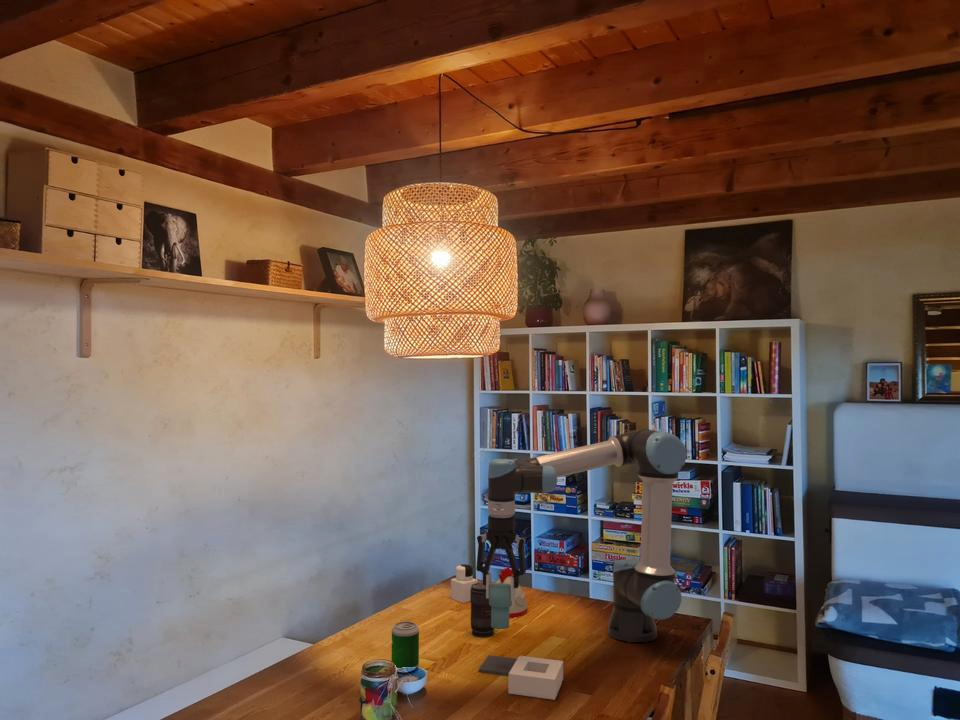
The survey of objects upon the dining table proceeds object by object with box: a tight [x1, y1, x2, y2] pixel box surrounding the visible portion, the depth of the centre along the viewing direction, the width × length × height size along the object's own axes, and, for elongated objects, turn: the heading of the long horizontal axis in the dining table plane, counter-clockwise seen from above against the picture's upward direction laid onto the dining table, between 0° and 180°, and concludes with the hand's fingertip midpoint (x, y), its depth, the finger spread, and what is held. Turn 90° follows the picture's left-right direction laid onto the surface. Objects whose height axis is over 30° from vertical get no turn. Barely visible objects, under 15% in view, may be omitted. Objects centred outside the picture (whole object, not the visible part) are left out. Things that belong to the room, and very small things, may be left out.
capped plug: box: [489, 582, 512, 630], centre depth 196 cm, size 6×6×11 cm
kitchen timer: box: [495, 566, 528, 619], centre depth 242 cm, size 14×14×15 cm
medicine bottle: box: [450, 564, 479, 604], centre depth 255 cm, size 7×7×12 cm
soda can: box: [391, 621, 420, 668], centre depth 195 cm, size 8×8×12 cm
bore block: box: [507, 655, 564, 701], centre depth 184 cm, size 12×12×5 cm
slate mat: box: [478, 654, 518, 677], centre depth 196 cm, size 10×10×1 cm
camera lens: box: [469, 581, 495, 638], centre depth 222 cm, size 8×8×15 cm
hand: (500, 598), depth 196 cm, fingers closed on capped plug, 6 cm apart
